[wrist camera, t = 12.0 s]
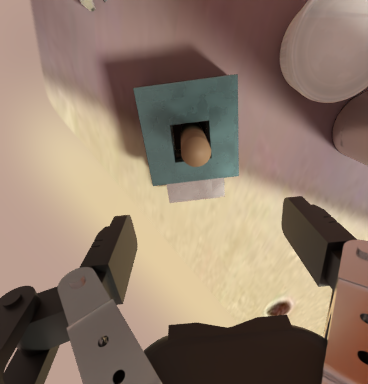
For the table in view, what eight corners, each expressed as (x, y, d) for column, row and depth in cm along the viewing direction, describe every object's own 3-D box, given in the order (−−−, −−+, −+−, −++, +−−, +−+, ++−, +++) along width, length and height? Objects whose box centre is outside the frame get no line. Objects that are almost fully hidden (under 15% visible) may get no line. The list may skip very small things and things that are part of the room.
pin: (200, 119, 30) (209, 135, 22) (203, 140, 32) (212, 164, 23) (179, 122, 31) (178, 140, 22) (182, 143, 32) (183, 168, 23)
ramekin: (354, -37, 24) (397, -66, 19) (373, 66, 28) (412, 64, 23) (256, 30, 26) (273, 19, 22) (288, 115, 31) (308, 121, 26)
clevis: (227, 75, 28) (237, 74, 23) (230, 185, 35) (238, 203, 30) (141, 86, 29) (133, 88, 24) (161, 193, 36) (158, 212, 31)
